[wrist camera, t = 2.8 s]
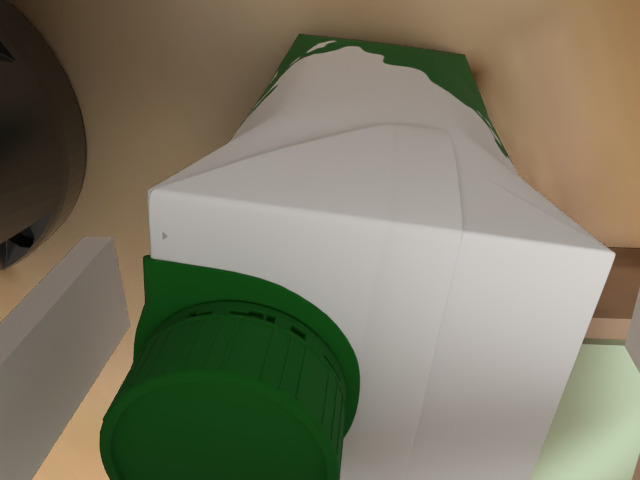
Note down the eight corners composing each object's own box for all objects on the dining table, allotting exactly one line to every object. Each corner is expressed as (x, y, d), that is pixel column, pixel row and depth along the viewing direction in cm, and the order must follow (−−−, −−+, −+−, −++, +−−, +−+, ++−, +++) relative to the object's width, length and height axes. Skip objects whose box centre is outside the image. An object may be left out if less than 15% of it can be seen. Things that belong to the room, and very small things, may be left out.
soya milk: (279, 7, 26) (46, 202, 8) (495, 35, 25) (751, 300, 8) (266, 198, 30) (93, 605, 12) (451, 223, 29) (552, 678, 12)
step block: (382, 423, 36) (382, 518, 30) (389, 242, 30) (390, 316, 25) (595, 435, 35) (637, 535, 29) (643, 248, 29) (705, 327, 23)
